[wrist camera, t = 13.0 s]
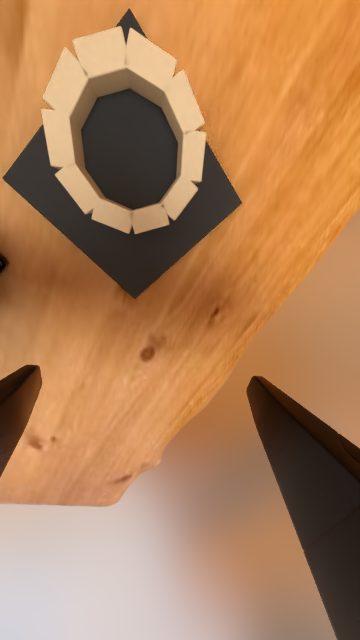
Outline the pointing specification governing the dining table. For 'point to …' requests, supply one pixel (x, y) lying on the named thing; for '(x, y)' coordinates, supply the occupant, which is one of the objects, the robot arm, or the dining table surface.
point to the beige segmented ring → (106, 78)
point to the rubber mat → (126, 186)
